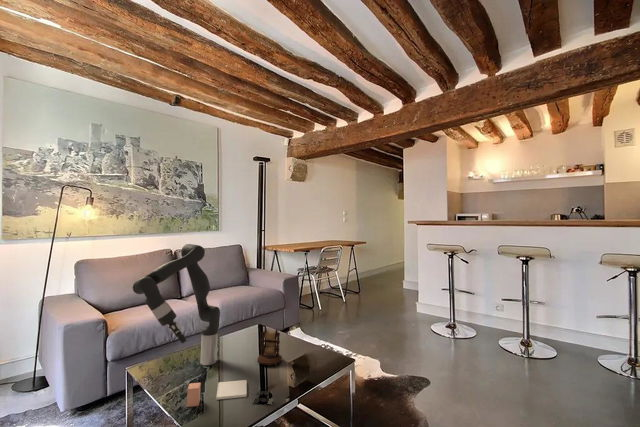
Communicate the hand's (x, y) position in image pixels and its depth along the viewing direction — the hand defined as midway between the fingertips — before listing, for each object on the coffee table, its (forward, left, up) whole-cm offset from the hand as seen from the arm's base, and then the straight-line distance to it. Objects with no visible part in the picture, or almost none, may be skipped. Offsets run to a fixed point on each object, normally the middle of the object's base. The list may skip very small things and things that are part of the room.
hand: (183, 339), depth 151 cm
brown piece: (-29, +45, -27) cm, 60 cm away
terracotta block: (+8, +7, -27) cm, 29 cm away
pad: (0, +24, -27) cm, 36 cm away
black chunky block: (+12, +39, -27) cm, 49 cm away
